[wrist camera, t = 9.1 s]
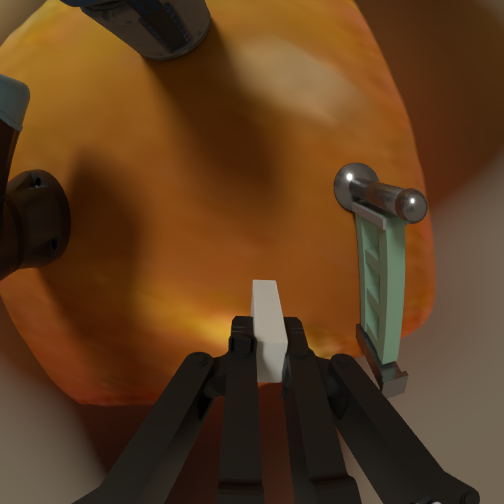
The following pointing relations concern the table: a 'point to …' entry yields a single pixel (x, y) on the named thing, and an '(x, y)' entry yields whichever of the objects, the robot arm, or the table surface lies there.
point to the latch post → (382, 367)
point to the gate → (381, 276)
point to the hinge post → (378, 193)
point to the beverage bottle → (151, 23)
